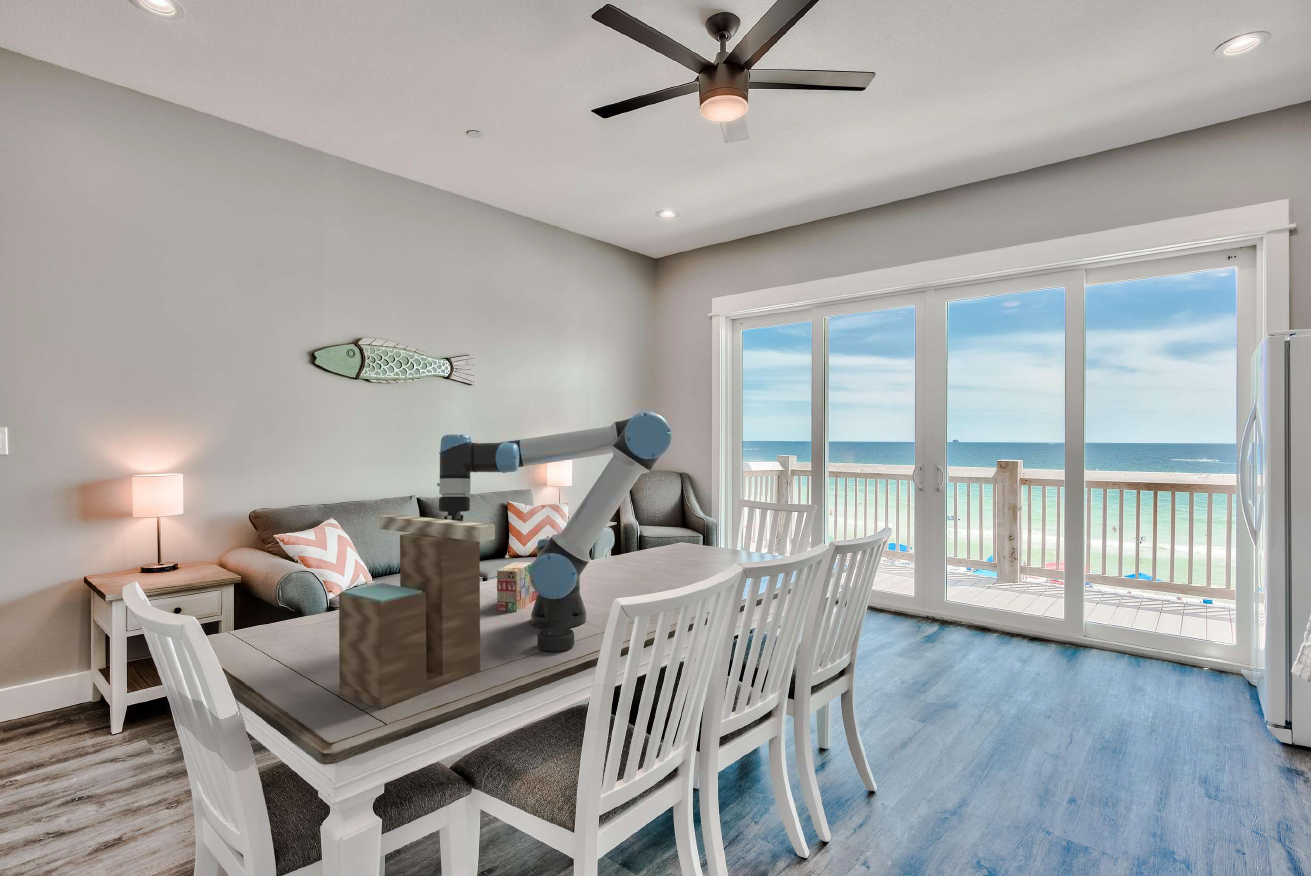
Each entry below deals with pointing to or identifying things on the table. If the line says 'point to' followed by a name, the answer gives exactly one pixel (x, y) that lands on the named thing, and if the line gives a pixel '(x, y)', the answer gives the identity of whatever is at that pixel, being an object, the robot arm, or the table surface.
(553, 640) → the smart speaker
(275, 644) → the table surface
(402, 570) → the oak stand
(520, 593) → the stack of blocks
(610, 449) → the robot arm
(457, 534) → the birch bar
